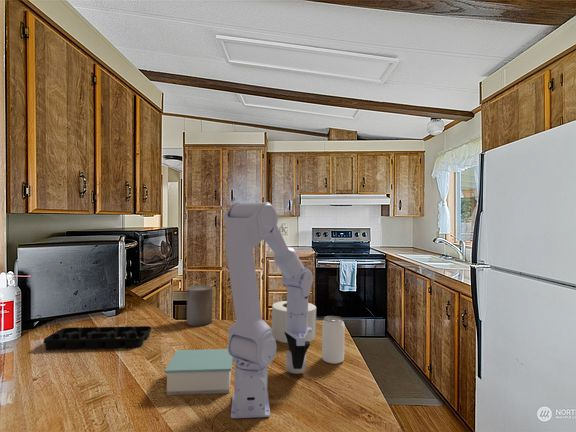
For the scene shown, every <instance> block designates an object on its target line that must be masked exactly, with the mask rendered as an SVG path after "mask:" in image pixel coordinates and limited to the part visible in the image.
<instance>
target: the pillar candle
mask: <svg viewBox="0 0 576 432" xmlns="http://www.w3.org/2000/svg"><path fill="white" fill-rule="evenodd" d="M212 322H213V286H211V285H206V284H205V285H204V284H203V285H202V284H199V285H192V286H189V287H187V288H186V324H187V325H189V326H190V327H201V326H202V327H203V326H206V325H210V324H212Z"/></svg>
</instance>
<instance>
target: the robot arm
mask: <svg viewBox="0 0 576 432" xmlns="http://www.w3.org/2000/svg"><path fill="white" fill-rule="evenodd" d="M278 217H279V215H278V214H277V212H276V209H275V207H274V206H273V204H272V203H270V202H269V201H267V202H250V203H249V202H247V203H244V202H243V203H242V202H241V203H240V202H234V203H232V204H231V205H230V206H229V207H228V209H227V210H226V212H225V213H224V215H223V218H224V220H223V221H224V227H225V234H226V235H225V241H224V243H225V254H226V260H227V267H228V275H229V280H230V288H231V294H232V300H233V301H232V302H233V309H234V316H235V321H234V322H233V323H232V324H231V325H230V327H228V329H227V331H228V332H227V333H228V340H227V347H226V349H228V353H229V354H230V355H231V356H232V357H233V358H232V363H234V380H233V381H234V386H233V387H234V388H233V389H234V390H233V393H232V397H231V398H232V399H231V409H230V418H231V419H249V418H250V419H251V418H253V419H254V418H268V417H271V410H270V401H269V399H270V398H269V392H268V374H269V373H268V372H269V371H268V366H269V365H271V363H272V362H273V361H274V359H275V356H276V353H277V340H275V339H274V337H273V335H272V327H271V326H270V325H269V324H268V323H267V322H266V321H265V320H264V319H263V318H262V312H261V305H260V304H261V302H260V297H259V296H260V295H259V289H258V282H257V274H256V273H257V272H256V265H255V257H254V248H255V247H256V245H258V244H260V243H261V242H262V241H263V240H264V242H265V243H266V244H267V246H268V247H269V248H270V249H271V251H272V252H273V253H274V256H273V261H274V263H275V265H276V266H277V268H278V269H279V271H280V272H281V277H282V283H283V285H284V286H285V287H286V301H287V315H286V328H285V335H286V338H287V342H288V343H287V345H288V351H291V355H292V363H293V368H294V369H302V366H303V362H304V357H305V354H306V355H307V351H308V349H309V348H310V346H311V343H310V342H311V341H310V342H309V341H305V337H306V335H307V334H308V332H312V328H311V327H308V303H309V296H310V295H311V289H312V285H313V283H314V282H313V281H314V276H313V273H312V271H311V270H310V269H309V267H305V265H304V264H303V262H302V261H301V258H300V257H299V256H298V253H297V252H296V249H295V248H294V247H292V246H288V245H287V244H286V241H285V239H284V237H283V235H282V233H281V230H280V229H279V226H278V221H279V218H278Z"/></svg>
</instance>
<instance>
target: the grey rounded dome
mask: <svg viewBox="0 0 576 432" xmlns="http://www.w3.org/2000/svg"><path fill="white" fill-rule="evenodd" d="M285 357H286V359H285V360H286V362H285V366H286V367H285V370H286V372H289V373H290V374H296V375H297V374H303V373H305V372H306V370H307V353H306V354H305V357H304V362H303V366H302V369H294V368H293V363H292V355H291V351H289V350H288V351H287V352H286V356H285Z"/></svg>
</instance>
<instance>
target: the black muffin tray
mask: <svg viewBox="0 0 576 432" xmlns="http://www.w3.org/2000/svg"><path fill="white" fill-rule="evenodd" d="M151 332H152V327H151V326H149V325H141V326H140V325H138V326H135V325H134V326H89V327H88V326H85V327H78V326H77V327H64V328H60V329H59V330H57V331H55V332H53V333H51V334H50V335H48V336H47V337H45V338H44V339H43V342H42V343H43V344H45V351H60V350H63V349H64V348H65V350H68V351H70V350H71V351H73V350H82V349H83V348H85V349H86V350H100V349H103V348H104V347H105V349H106V350H107V349H108V350H112V349H113V350H116V349H120V348H122V347H124V348H125V349H138V348H141V347H142V346H143V345H144V341H147V340H148V339H149V337H150V335H151V334H150V333H151Z"/></svg>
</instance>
